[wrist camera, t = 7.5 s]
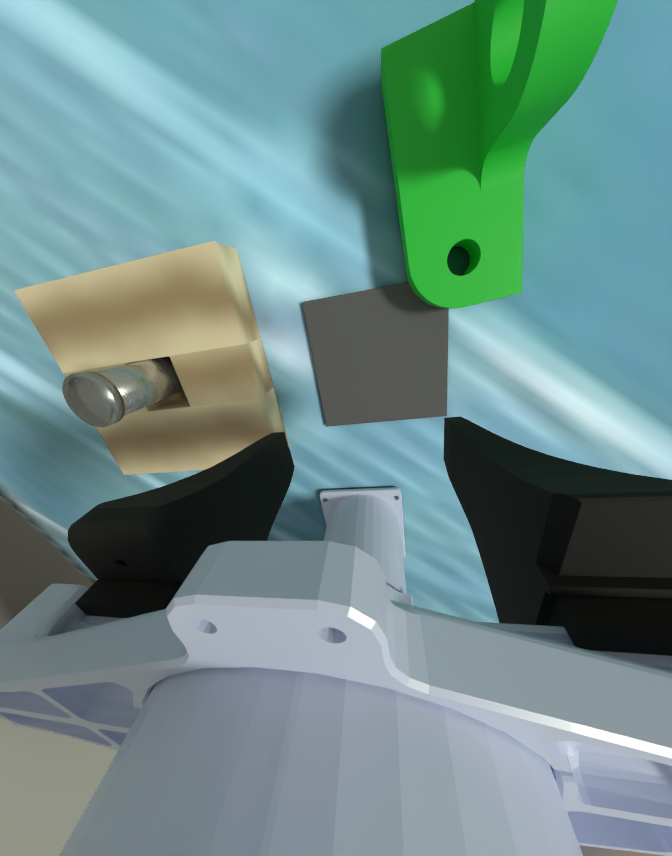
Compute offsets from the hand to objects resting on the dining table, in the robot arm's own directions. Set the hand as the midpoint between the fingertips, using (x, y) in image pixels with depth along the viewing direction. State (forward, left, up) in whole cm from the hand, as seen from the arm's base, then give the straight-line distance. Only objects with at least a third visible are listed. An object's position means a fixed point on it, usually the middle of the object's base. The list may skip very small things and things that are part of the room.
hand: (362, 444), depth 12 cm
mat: (+1, -1, -10) cm, 11 cm away
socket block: (+2, +16, -10) cm, 19 cm away
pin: (+3, +16, -10) cm, 19 cm away
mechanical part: (+10, -6, -10) cm, 16 cm away
